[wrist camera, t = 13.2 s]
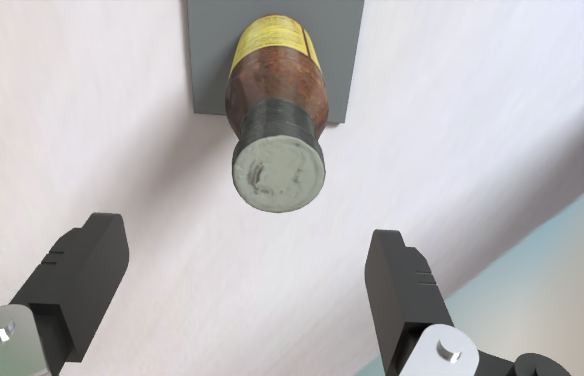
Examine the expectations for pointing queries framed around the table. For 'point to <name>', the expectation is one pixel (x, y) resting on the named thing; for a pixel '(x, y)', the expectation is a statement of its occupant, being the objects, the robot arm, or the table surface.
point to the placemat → (251, 6)
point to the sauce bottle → (277, 115)
